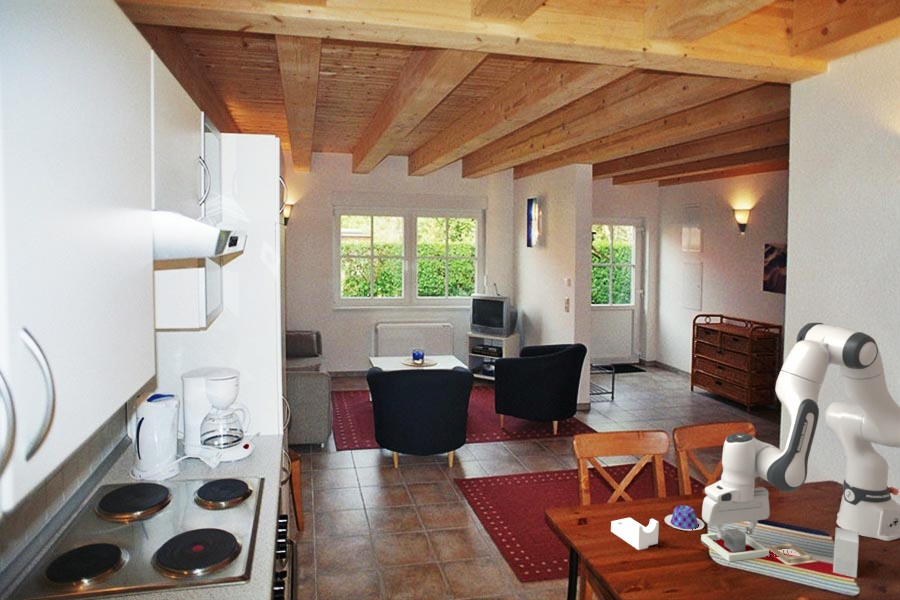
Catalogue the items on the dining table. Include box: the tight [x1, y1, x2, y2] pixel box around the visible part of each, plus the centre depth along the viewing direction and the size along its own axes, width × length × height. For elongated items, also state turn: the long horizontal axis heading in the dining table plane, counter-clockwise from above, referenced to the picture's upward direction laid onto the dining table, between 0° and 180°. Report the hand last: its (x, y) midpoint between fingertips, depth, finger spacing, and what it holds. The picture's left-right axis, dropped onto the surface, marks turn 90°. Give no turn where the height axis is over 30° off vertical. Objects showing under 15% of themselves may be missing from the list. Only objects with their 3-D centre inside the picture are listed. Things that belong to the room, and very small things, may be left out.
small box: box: [832, 527, 860, 579], centre depth 179 cm, size 8×6×10 cm
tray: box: [700, 532, 770, 565], centre depth 191 cm, size 13×13×2 cm
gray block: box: [723, 528, 747, 553], centre depth 191 cm, size 4×4×5 cm
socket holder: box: [767, 542, 818, 566], centre depth 187 cm, size 10×10×2 cm
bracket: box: [610, 517, 660, 551], centre depth 198 cm, size 13×7×8 cm, turn 23°
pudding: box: [664, 504, 705, 531], centre depth 208 cm, size 12×12×5 cm
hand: (735, 535), depth 191 cm, fingers open, 8 cm apart
